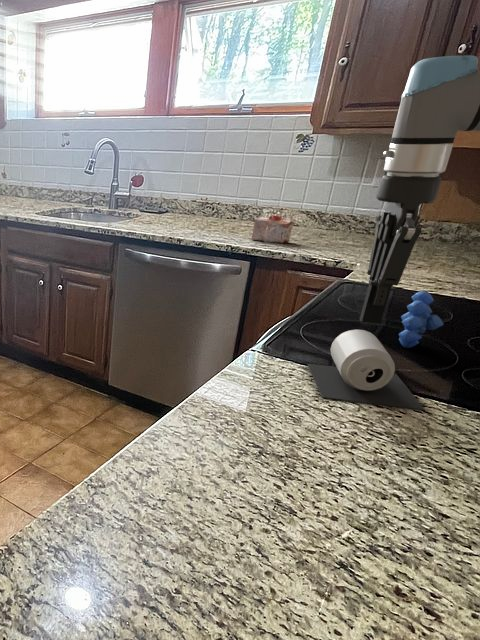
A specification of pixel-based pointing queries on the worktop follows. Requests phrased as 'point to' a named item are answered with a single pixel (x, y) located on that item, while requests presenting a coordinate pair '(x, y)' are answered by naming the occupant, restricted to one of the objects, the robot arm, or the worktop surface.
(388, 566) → the worktop surface
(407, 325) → the grapes
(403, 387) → the mat
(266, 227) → the food item
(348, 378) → the can
